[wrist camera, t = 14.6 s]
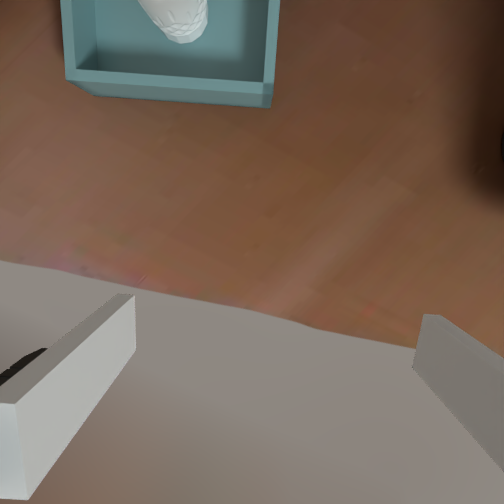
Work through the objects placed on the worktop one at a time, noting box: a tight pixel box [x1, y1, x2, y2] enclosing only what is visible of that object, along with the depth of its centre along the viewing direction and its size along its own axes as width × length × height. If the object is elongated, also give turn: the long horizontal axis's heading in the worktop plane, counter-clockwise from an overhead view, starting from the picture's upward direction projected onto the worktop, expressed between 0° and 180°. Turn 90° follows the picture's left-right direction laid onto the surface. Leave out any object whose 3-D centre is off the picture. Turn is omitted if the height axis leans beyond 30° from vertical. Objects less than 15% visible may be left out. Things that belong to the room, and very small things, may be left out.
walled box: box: [60, 0, 280, 108], centre depth 34 cm, size 24×20×6 cm
